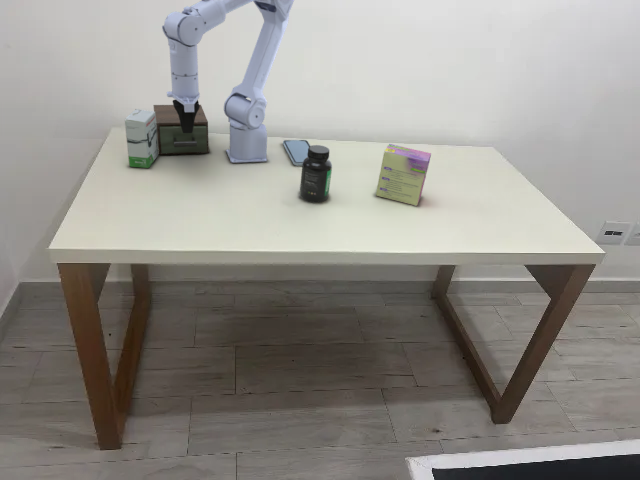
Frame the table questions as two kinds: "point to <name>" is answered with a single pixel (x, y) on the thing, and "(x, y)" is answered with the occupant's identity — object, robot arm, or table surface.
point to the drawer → (183, 139)
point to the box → (403, 174)
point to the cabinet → (176, 122)
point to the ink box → (141, 138)
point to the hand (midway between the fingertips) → (187, 132)
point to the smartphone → (297, 150)
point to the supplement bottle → (316, 174)
